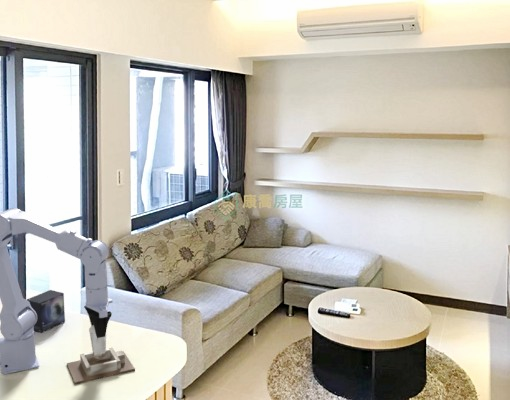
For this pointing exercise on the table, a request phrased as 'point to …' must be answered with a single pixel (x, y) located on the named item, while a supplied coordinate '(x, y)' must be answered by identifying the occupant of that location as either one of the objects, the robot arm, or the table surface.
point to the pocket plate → (99, 366)
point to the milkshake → (97, 344)
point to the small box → (48, 310)
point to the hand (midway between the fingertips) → (98, 333)
